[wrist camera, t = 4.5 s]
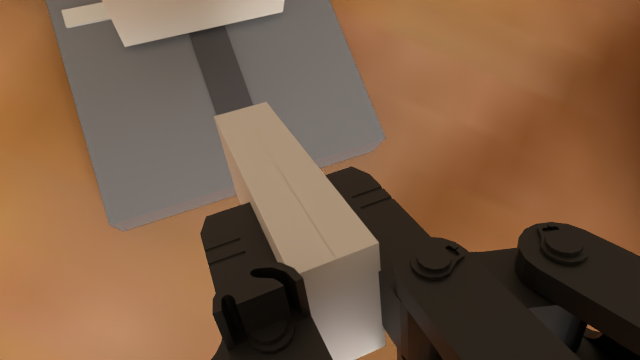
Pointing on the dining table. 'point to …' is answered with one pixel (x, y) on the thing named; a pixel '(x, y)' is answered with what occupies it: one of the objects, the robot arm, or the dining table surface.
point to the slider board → (205, 101)
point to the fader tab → (181, 16)
